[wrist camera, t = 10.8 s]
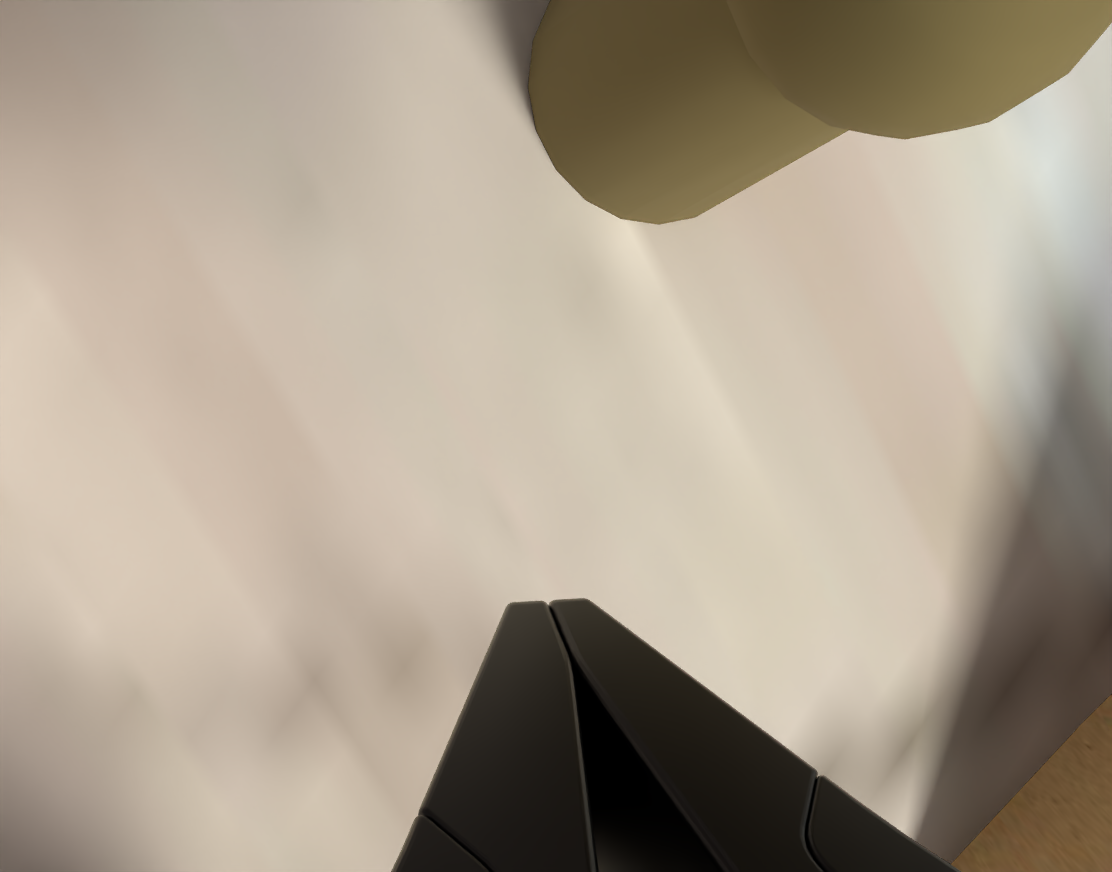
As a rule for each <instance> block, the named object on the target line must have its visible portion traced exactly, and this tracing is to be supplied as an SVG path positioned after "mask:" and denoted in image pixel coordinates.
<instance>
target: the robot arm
mask: <svg viewBox="0 0 1112 872" xmlns="http://www.w3.org/2000/svg"><path fill="white" fill-rule="evenodd" d="M817 775H818V773H817V771H816V769H814V768H813V767H812V766H810V765H809V764H808V763H806V762H805V761H804V760H802V759H801V758H800V757H798V756H797V755H796V754H794V753H793V752H792V751H790V750H789V749H788V748H786V747H785V746H784V745H782V744H781V743H780V742H778V741H777V740H776V739H774V738H773V737H772V736H770V735H769V734H768V733H766V732H765V731H764V730H762V729H761V728H760V727H758V726H757V725H756V724H754V723H753V722H752V721H750V720H749V719H748V718H746V717H745V716H744V715H742V714H741V713H740V712H738V711H737V710H736V709H734V708H733V707H732V706H730V705H729V704H728V703H726V702H725V701H724V700H722V699H721V698H720V697H718V696H717V695H716V694H714V693H713V692H712V691H710V690H709V689H708V688H706V687H705V686H704V685H702V684H701V683H700V682H698V681H697V680H696V679H694V678H693V677H692V676H690V675H689V674H688V673H686V672H685V671H684V670H682V669H681V668H680V667H678V666H677V665H676V664H674V663H673V662H672V661H670V660H669V659H668V658H666V657H665V656H664V655H662V654H661V653H660V652H658V651H657V650H656V649H654V648H653V647H652V646H650V645H649V644H648V643H646V642H645V641H644V640H642V639H641V638H640V637H638V636H637V635H636V634H634V633H633V632H632V631H630V630H629V629H628V628H626V627H625V626H624V625H622V624H621V623H620V622H618V621H617V620H616V619H614V618H613V617H612V616H610V615H609V614H608V613H606V612H605V611H604V610H602V609H601V608H600V607H598V606H597V605H596V604H594V603H593V602H592V601H590V600H588V599H585V598H578V599H562V600H553V601H551V602H550V603H549V605H547V603H546V602H544V601H528V602H512V603H510V604H508V605H507V607H506V609H505V611H504V613H503V616H502V618H501V620H500V623H499V625H498V627H497V630H496V632H495V634H494V637H493V639H492V641H491V644H490V646H489V648H488V651H487V653H486V655H485V658H484V660H483V662H482V665H481V667H480V669H479V672H478V674H477V676H476V679H475V681H474V683H473V686H472V688H471V690H470V693H469V695H468V697H467V700H466V702H465V704H464V707H463V709H462V711H461V714H460V716H459V718H458V721H457V723H456V725H455V728H454V730H453V732H452V735H451V737H450V739H449V742H448V744H447V746H446V749H445V751H444V753H443V756H442V758H441V760H440V763H439V765H438V767H437V770H436V772H435V774H434V777H433V779H432V781H431V784H430V786H429V788H428V791H427V793H426V795H425V798H424V800H423V802H422V805H421V807H420V809H419V813H418V816H417V817H416V818H415V820H414V822H413V824H412V827H411V829H410V831H409V834H408V836H407V838H406V841H405V843H404V845H403V848H402V850H401V852H400V854H399V856H398V858H397V860H396V863H395V865H394V867H393V869H392V871H391V872H961V871H960V870H958V869H957V868H955V867H954V866H952V865H951V864H949V863H948V862H946V861H945V860H943V859H942V858H940V857H939V856H937V855H936V854H934V853H932V852H931V851H929V850H928V849H926V848H925V847H923V846H922V845H920V844H919V843H917V842H916V841H914V840H913V839H911V838H910V837H908V836H907V835H905V834H904V833H902V832H901V831H900V830H898V829H897V828H895V827H894V826H893V825H891V824H890V823H888V822H887V821H886V820H884V819H883V818H881V817H880V816H879V815H877V814H876V813H874V812H873V811H872V810H870V809H869V808H867V807H866V806H865V805H863V804H862V803H860V802H859V801H858V800H856V799H855V798H854V797H852V796H851V795H850V794H848V793H847V792H846V791H844V790H843V789H842V788H840V787H839V786H838V785H836V784H835V783H834V782H832V781H831V780H830V779H828V778H827V777H826V776H824V775H820V776H818V778H817Z"/></svg>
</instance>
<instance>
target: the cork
mask: <svg viewBox="0 0 1112 872" xmlns="http://www.w3.org/2000/svg"><path fill="white" fill-rule="evenodd" d="M1111 23H1112V0H551V1H550V2H549V5H548V7H547V9H546V12H545V14H544V16H543V19H542V21H541V23H540V26H539V28H538V30H537V33H536V35H535V37H534V40H533V43H532V53H531V62H530V72H529V81H528V89H529V95H530V100H531V105H532V111H533V116H534V121H535V127H536V131H537V133H538V135H539V137H540V139H541V141H542V143H543V145H544V147H545V149H546V151H547V153H548V155H549V157H550V159H551V161H552V163H553V164H554V166H555V168H556V170H557V171H558V172H559V173H560V174H561V175H562V176H563V177H564V178H565V179H566V181H567V182H568V183H569V184H570V185H571V186H572V187H573V188H574V189H575V190H576V191H577V192H578V193H579V194H580V195H581V196H582V197H583V198H584V199H585V200H586V201H588V202H590V203H592V204H594V205H596V206H598V207H599V208H601V209H603V210H605V211H607V212H609V213H611V214H613V215H615V216H617V217H618V218H620V219H626V220H632V221H639V222H645V223H652V224H664V223H669V222H674V221H679V220H684V219H689V218H694V217H697V216H698V215H700V214H702V213H704V212H705V211H707V210H709V209H711V208H713V207H714V206H716V205H718V204H720V203H721V202H723V201H725V200H727V199H728V198H730V197H732V196H734V195H735V194H737V193H739V192H741V191H743V190H744V189H746V188H748V187H750V186H751V185H753V184H755V183H757V182H758V181H760V180H762V179H764V178H765V177H767V176H769V175H771V174H773V173H774V172H776V171H778V170H780V169H781V168H783V167H785V166H787V165H788V164H790V163H792V162H794V161H795V160H797V159H799V158H801V157H802V156H804V155H806V154H808V153H810V152H811V151H813V150H815V149H817V148H818V147H820V146H822V145H824V144H825V143H827V142H829V141H831V140H832V139H834V138H836V137H838V136H840V135H841V134H843V133H845V132H847V131H848V130H851V131H857V132H862V133H867V134H872V135H877V136H884V137H891V138H899V139H910V138H915V137H921V136H926V135H931V134H937V133H942V132H948V131H953V130H958V129H962V128H966V127H971V126H975V125H979V124H983V123H987V122H990V121H992V120H993V119H995V118H997V117H998V116H1000V115H1002V114H1003V113H1005V112H1007V111H1008V110H1010V109H1012V108H1013V107H1015V106H1017V105H1018V104H1020V103H1022V102H1023V101H1025V100H1027V99H1028V98H1030V97H1031V96H1033V95H1035V94H1036V93H1038V92H1040V91H1041V90H1043V89H1044V88H1046V87H1048V86H1049V85H1051V84H1052V83H1054V82H1056V81H1057V80H1059V79H1060V78H1062V77H1064V76H1065V75H1067V74H1068V73H1069V72H1070V71H1071V70H1072V69H1073V68H1074V66H1075V65H1076V64H1077V63H1078V62H1079V61H1080V59H1081V58H1082V57H1083V56H1084V55H1085V54H1086V52H1087V51H1088V50H1089V49H1090V48H1091V47H1092V45H1093V44H1094V43H1095V42H1096V41H1097V40H1098V38H1099V37H1100V36H1101V35H1102V34H1103V33H1104V31H1105V30H1106V29H1107V28H1108V27H1109V25H1110V24H1111Z"/></svg>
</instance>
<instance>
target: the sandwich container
mask: <svg viewBox="0 0 1112 872" xmlns="http://www.w3.org/2000/svg"><path fill="white" fill-rule="evenodd" d="M951 865H952V866H954V867H955V868H957V869H958V870H960V871H961V872H1112V694H1111V695H1110V696H1109V697H1108V698H1107V699H1106V700H1105V701H1104V702H1103V703H1102V704H1101V705H1100V706H1099V707H1098V708H1097V709H1096V710H1095V711H1094V712H1093V713H1092V714H1091V715H1090V716H1089V717H1088V718H1087V719H1086V720H1085V721H1084V722H1083V723H1082V724H1081V725H1080V726H1079V727H1078V728H1077V729H1076V731H1075V732H1074V733H1073V734H1072V735H1071V736H1070V737H1069V738H1068V739H1067V740H1066V741H1065V742H1064V743H1063V744H1062V746H1061V747H1060V748H1059V749H1058V750H1057V751H1056V752H1055V753H1054V754H1053V755H1052V756H1051V757H1050V758H1049V759H1048V761H1047V762H1046V763H1045V764H1044V765H1043V766H1042V767H1041V768H1040V769H1039V770H1038V771H1037V772H1036V773H1035V774H1034V776H1033V777H1032V778H1031V779H1030V780H1029V781H1028V782H1027V783H1026V784H1025V785H1024V786H1023V787H1022V788H1021V789H1020V791H1019V792H1018V793H1017V794H1016V795H1015V796H1014V797H1013V798H1012V799H1011V800H1010V801H1009V802H1008V803H1007V804H1006V806H1005V807H1004V808H1003V809H1002V810H1001V811H1000V812H999V813H998V814H997V815H996V816H995V817H994V818H993V820H992V821H991V822H990V823H989V824H988V825H987V826H986V827H985V828H984V829H983V830H982V831H981V832H980V833H979V835H978V836H977V837H976V838H975V839H974V840H973V841H972V842H971V843H970V844H969V845H968V846H967V847H966V848H965V850H964V851H963V852H962V853H961V854H960V855H959V856H958V857H957V858H956V859H955V860H954V861H953V862H952V863H951Z"/></svg>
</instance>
